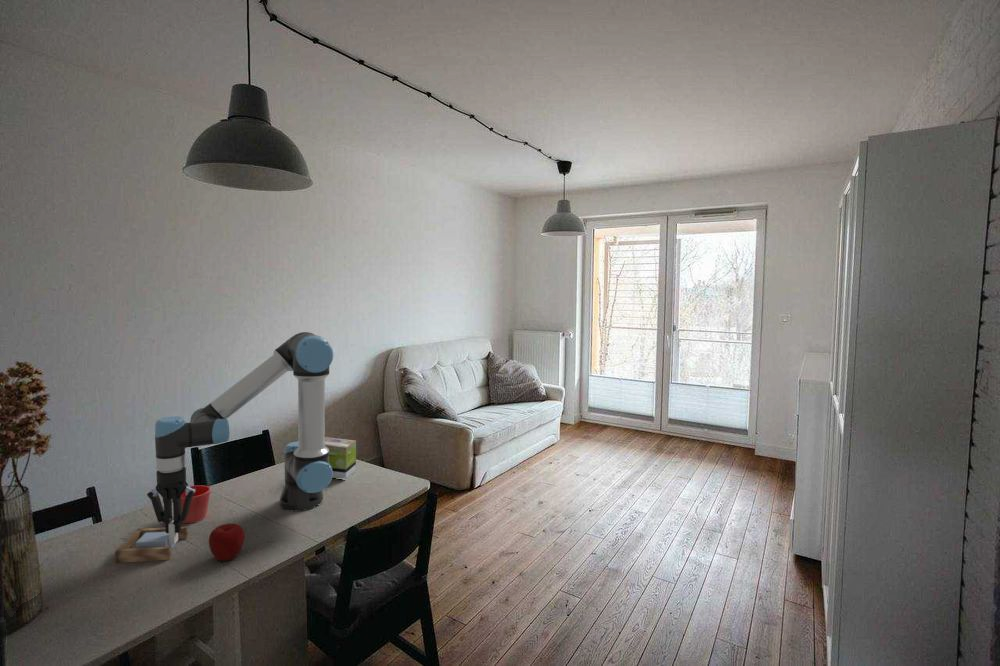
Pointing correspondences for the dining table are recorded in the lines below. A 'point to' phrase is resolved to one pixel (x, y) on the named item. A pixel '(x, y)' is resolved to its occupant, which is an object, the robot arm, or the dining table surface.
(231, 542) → the apple
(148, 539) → the block
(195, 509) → the flower pot
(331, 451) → the tea box
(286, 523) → the dining table surface
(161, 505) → the robot arm
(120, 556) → the bay
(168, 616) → the dining table surface
